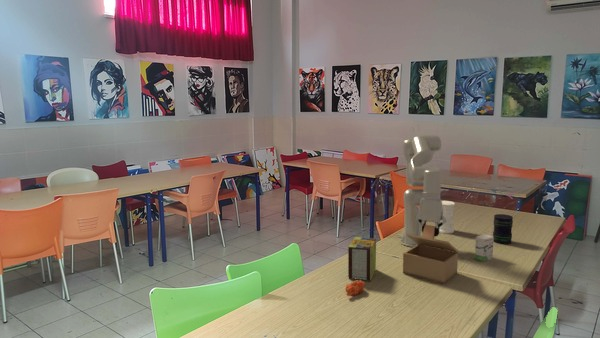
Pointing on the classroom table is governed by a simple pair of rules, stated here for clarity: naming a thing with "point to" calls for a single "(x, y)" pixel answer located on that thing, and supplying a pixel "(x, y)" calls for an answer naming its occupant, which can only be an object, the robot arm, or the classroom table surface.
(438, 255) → the carton
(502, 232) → the storage jar
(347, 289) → the orange toy bird
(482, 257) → the ink box
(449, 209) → the decorative container
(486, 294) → the classroom table surface
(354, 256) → the protein box
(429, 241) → the lid flap
